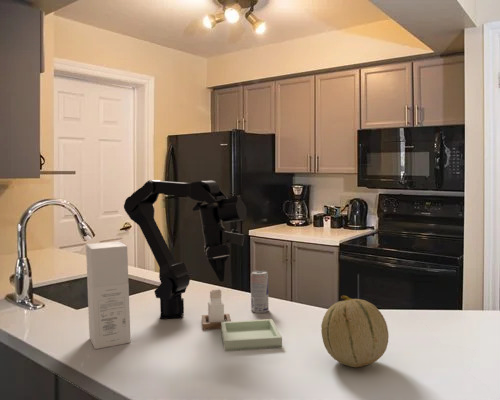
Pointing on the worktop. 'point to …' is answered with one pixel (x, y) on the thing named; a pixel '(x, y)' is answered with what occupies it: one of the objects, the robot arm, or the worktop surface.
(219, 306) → the salt shaker
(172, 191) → the robot arm
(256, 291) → the energy drink
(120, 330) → the tall white carton
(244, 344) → the tray
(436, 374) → the worktop surface
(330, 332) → the cantaloupe
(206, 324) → the holder
